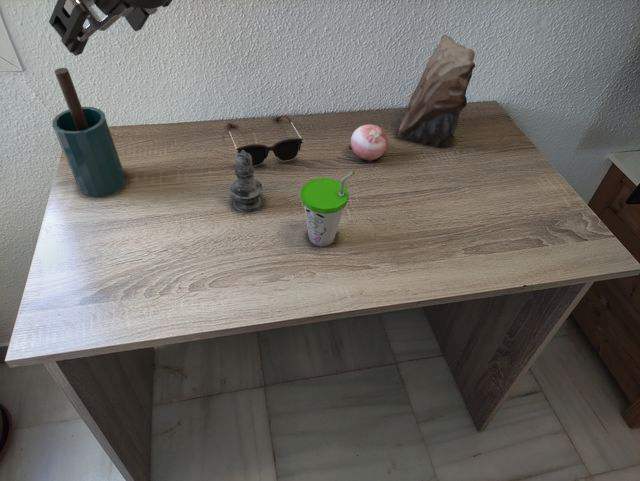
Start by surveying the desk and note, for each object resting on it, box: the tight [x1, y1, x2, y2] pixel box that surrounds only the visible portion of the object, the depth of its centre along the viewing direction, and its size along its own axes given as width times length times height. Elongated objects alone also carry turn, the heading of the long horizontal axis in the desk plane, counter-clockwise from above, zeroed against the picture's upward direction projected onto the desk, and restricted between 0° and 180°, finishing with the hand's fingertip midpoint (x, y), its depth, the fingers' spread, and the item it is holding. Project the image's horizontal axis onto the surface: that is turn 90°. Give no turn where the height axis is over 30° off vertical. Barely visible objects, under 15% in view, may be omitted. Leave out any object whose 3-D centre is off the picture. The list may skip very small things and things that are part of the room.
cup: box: [299, 170, 355, 248], centre depth 77 cm, size 8×8×15 cm
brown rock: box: [397, 34, 476, 148], centre depth 100 cm, size 13×13×20 cm
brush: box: [54, 67, 89, 131], centre depth 82 cm, size 4×4×22 cm
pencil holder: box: [51, 106, 126, 198], centre depth 85 cm, size 8×8×14 cm
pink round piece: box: [347, 124, 388, 163], centre depth 98 cm, size 8×8×7 cm
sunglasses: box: [226, 114, 304, 167], centre depth 100 cm, size 14×16×5 cm
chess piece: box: [229, 150, 264, 213], centre depth 84 cm, size 6×6×12 cm
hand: (103, 35), depth 55 cm, fingers open, 8 cm apart
